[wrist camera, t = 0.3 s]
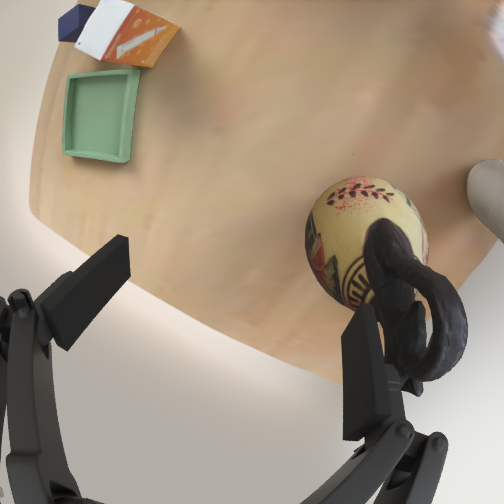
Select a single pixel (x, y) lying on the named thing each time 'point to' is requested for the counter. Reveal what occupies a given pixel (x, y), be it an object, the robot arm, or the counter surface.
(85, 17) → the navy block
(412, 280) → the ceramic jug
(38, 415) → the robot arm
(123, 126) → the tray
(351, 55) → the counter surface
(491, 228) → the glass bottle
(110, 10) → the small box
